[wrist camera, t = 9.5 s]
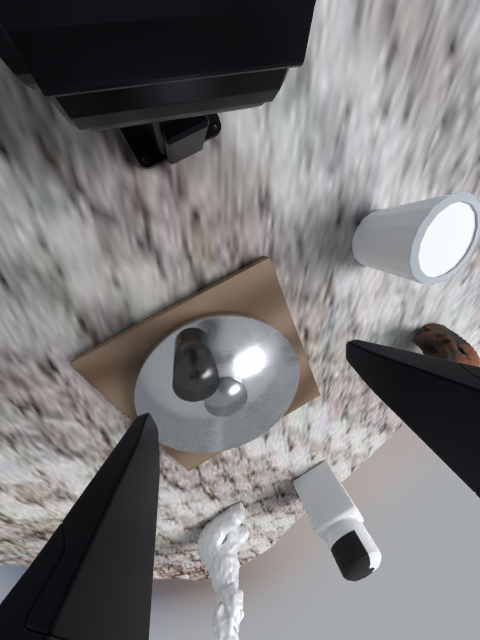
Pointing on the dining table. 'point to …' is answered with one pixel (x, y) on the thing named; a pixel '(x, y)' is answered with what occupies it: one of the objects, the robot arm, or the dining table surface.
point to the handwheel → (217, 382)
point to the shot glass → (420, 237)
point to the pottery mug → (446, 345)
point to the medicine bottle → (337, 522)
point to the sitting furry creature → (225, 568)
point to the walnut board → (222, 296)
